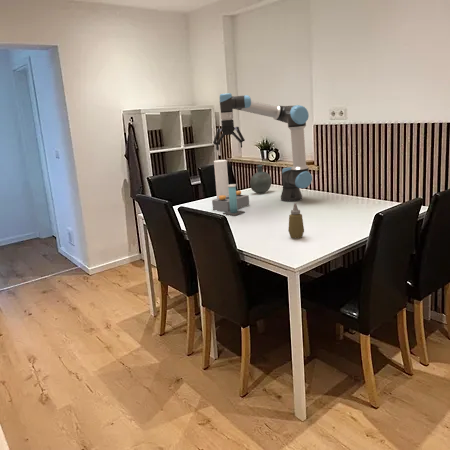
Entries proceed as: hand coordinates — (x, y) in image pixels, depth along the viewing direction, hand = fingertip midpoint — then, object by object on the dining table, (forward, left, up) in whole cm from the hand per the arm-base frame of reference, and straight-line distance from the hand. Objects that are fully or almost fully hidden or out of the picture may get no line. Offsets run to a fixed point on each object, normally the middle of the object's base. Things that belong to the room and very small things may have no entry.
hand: (229, 154), depth 277 cm
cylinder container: (+35, -28, -39) cm, 59 cm away
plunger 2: (+13, -20, -38) cm, 44 cm away
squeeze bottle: (-64, +24, -39) cm, 78 cm away
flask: (+23, -59, -39) cm, 74 cm away
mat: (0, 0, -38) cm, 39 cm away
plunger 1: (+13, -4, -38) cm, 40 cm away
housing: (+13, -12, -38) cm, 42 cm away
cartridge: (0, 0, -38) cm, 38 cm away
